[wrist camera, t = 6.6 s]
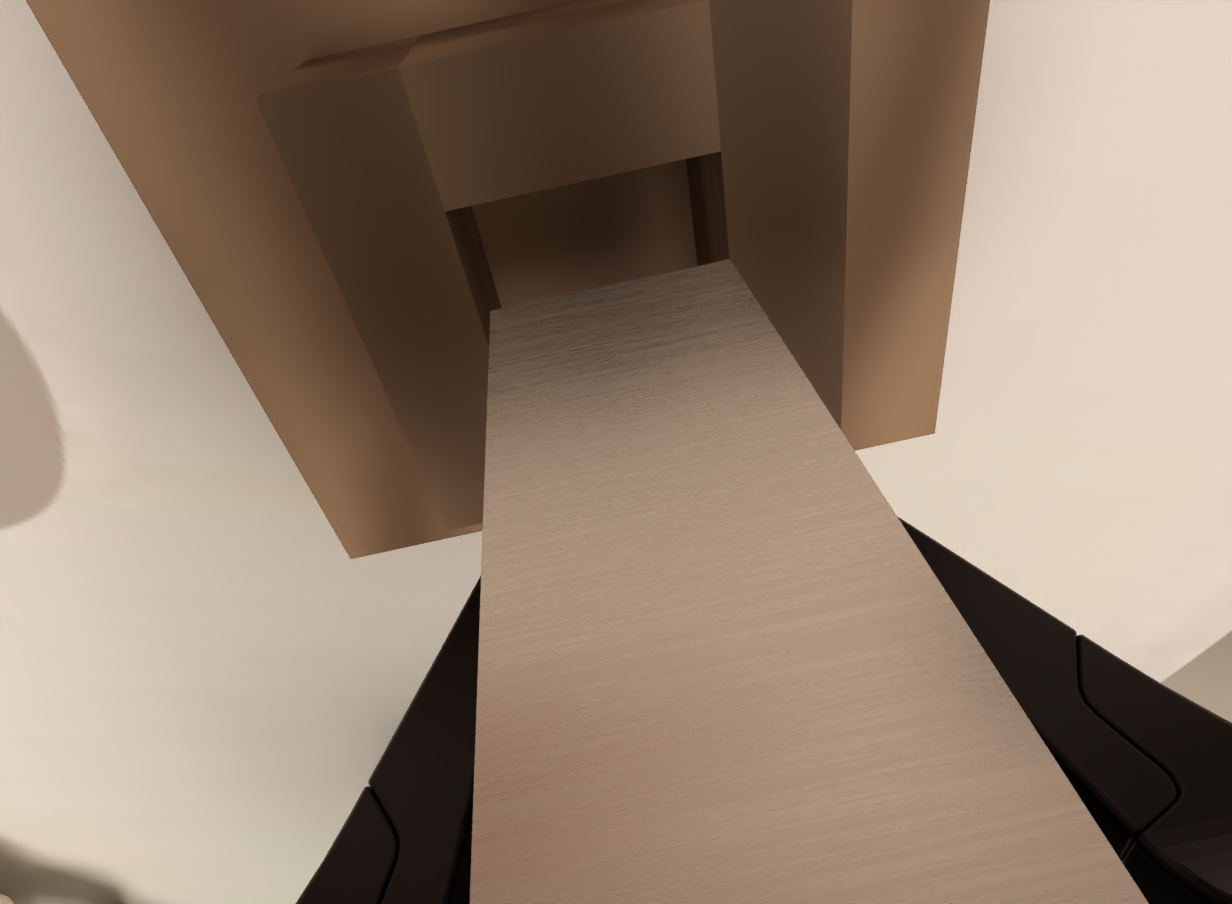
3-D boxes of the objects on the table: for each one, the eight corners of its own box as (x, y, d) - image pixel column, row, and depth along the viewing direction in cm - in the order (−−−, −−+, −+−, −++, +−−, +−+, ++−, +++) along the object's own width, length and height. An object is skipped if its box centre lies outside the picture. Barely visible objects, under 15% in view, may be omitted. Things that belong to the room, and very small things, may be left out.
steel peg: (546, 492, 14) (599, 1228, 6) (489, 310, 12) (459, 1142, 4) (744, 448, 14) (1051, 1135, 6) (729, 258, 12) (1203, 988, 4)
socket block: (358, 528, 25) (327, 657, 21) (4, -112, 14) (-214, -121, 10) (914, 408, 25) (1000, 513, 21) (990, -331, 14) (1206, -438, 10)
